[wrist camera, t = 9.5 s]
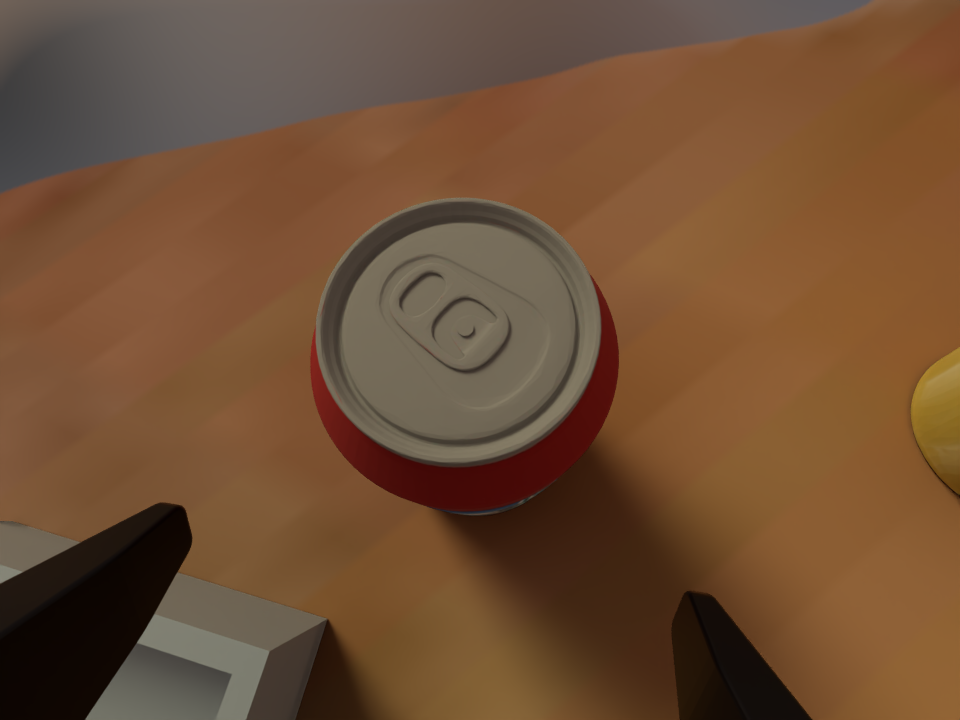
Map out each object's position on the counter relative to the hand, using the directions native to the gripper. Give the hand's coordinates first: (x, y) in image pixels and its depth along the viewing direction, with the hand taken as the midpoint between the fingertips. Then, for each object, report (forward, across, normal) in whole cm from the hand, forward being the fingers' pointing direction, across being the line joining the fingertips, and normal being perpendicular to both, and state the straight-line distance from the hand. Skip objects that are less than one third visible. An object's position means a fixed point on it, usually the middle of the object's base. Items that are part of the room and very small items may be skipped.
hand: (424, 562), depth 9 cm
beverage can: (+11, 0, +5) cm, 12 cm away
